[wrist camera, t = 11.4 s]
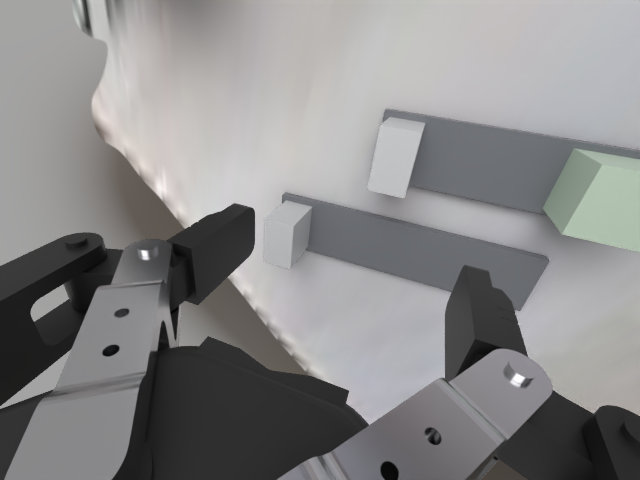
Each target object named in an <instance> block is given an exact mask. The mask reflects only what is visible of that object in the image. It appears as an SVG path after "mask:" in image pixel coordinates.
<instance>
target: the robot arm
mask: <svg viewBox="0 0 640 480" xmlns="http://www.w3.org/2000/svg"><path fill="white" fill-rule="evenodd" d="M254 244H255V211H254V209H253V208H251V207H247V206H244V205H240V204H236V203H235V204H232V205H231V206H229V207H227V208H226V209H224V210H223V211H221V212H217V213H214V214H210V215H207V216H206V217H204V218H203V219H201V220H199V222H196V223H194V224H193V225H191V227H188V228H186V229H184V230H183V231H181V232H180V233H178V234H176V235H175V236H173V237H171V238H170V239H168V240H167V241H164V240H160V239H146V240H141V241H138V242H135V243H133V244H131V245H129V246H128V247H126V248H125V249H124V250H118V249H106V248H105V245H104V241H103V238H102V237H101V236H100V235H98V234H95V233H76V234H71V235H67V236H64V237H61V238H59V239H57V240H55V241H53V242H51V243H48V244H46V245H44V246H42V247H40V248H38V249H36V250H34V251H32V252H29V253H28V254H25V255H23V256H21V257H19V258H17V259H15V260H13V261H10V262H8V263H6V264H4V265H2V266H0V406H1V405H2V404H3V403H5V402H6V401H7V400H8V399H10V398H11V397H12V396H13V395H15V394H16V393H17V392H18V391H20V390H21V389H22V388H23V387H25V386H26V385H27V384H28V383H30V382H31V381H32V380H33V379H35V378H36V377H37V376H38V375H39V374H41V373H42V372H43V371H44V370H46V369H47V368H48V367H49V366H51V365H52V364H53V363H54V362H56V361H57V360H58V359H59V358H60V357H62V356H63V355H64V354H66V353H67V352H68V351H69V350H71V352H70V354H69V356H68V359H67V361H66V363H65V366H64V368H63V371H62V373H61V375H60V378H59V380H58V383H57V385H56V387H55V389H54V390H51V391H48V392H45V393H43V394H40V395H37V396H35V397H32V398H29V399H26V400H24V401H21V402H18V403H16V404H13V405H10V406H8V407H5V408H2V409H0V480H480V479H481V478H482V477H483V476H484V475H485V474H486V473H487V472H488V471H489V470H490V469H491V468H492V466H493V465H494V464H495V463H496V462H497V461H498V460H499V459H500V460H501V461H503V462H504V463H506V464H507V465H508V466H510V467H511V468H513V469H514V470H515V471H517V472H518V473H520V474H521V475H522V476H524V477H525V478H527V479H528V480H640V416H638V415H636V414H634V413H633V412H631V411H628V410H626V409H623V408H620V407H617V406H610V405H606V406H602V407H600V408H599V409H598V410H597V411H596V412H595V413H594V414H593V413H591V412H589V411H587V410H586V409H584V408H582V407H580V406H579V405H577V404H575V403H573V402H571V401H570V400H568V399H566V398H564V397H563V396H561V395H559V394H558V393H556V392H555V391H554V390H553V387H552V383H551V380H550V378H549V377H548V375H547V374H546V372H545V371H544V370H543V369H542V368H541V367H540V366H539V365H538V364H537V363H536V362H534V361H533V360H532V359H530V358H529V357H528V355H527V352H526V348H525V345H524V341H523V338H522V335H521V331H520V328H519V325H517V324H518V321H517V318H516V315H515V311H514V307H513V304H512V301H511V300H510V299H509V298H508V296H507V295H506V294H505V293H504V292H503V290H501V289H498V288H494V287H492V282H491V278H490V273H489V271H487V270H483V269H480V268H476V267H472V266H468V265H464V266H463V268H462V269H461V272H460V274H459V276H458V279H457V281H456V284H455V286H454V288H453V291H452V293H451V295H450V298H449V300H448V303H447V307H446V312H445V379H444V378H439V379H437V380H435V381H434V382H432V383H431V384H429V385H428V386H426V387H425V388H423V389H422V390H421V391H419V392H418V393H416V394H415V395H413V396H412V397H410V398H409V399H407V400H406V401H404V402H403V403H401V404H400V405H399V406H397V407H396V408H394V409H393V410H391V411H390V412H388V413H387V414H385V415H384V416H382V417H381V418H379V419H378V420H377V421H375V422H374V423H372V424H371V425H369V424H368V423H367V422H366V421H365V420H364V419H363V418H362V416H361V415H359V414H358V413H357V412H356V411H355V410H354V409H353V408H351V407H350V406H349V405H347V404H346V401H347V397H348V393H349V391H348V390H346V389H343V388H341V387H338V386H335V385H333V384H330V383H328V382H325V381H322V380H320V379H317V378H315V377H312V376H306V375H299V374H292V373H284V372H277V371H272V370H269V369H267V368H265V367H264V366H263V365H262V364H260V363H259V362H257V361H256V360H255V359H253V358H252V357H251V356H249V355H248V354H247V353H245V352H244V351H242V350H241V349H240V348H237V347H234V346H232V345H229V344H227V343H224V342H222V341H219V340H216V339H214V338H211V337H209V336H208V337H207V338H206V339H205V341H204V342H203V343H202V344H201V345H200V346H181V347H179V336H180V322H181V305H180V304H181V303H183V301H188V302H190V303H193V304H196V305H199V303H201V302H202V301H203V300H204V299H205V298H206V297H207V296H208V295H209V294H210V293H211V292H212V291H213V290H214V289H215V288H216V287H217V286H219V285H220V284H221V283H222V282H223V281H224V280H225V279H226V278H227V277H228V276H229V275H230V274H231V273H232V272H233V271H234V270H235V269H236V268H237V267H239V266H240V265H241V264H242V263H243V262H244V261H245V260H246V259H247V258H248V257H249V256H250V255H251V253H252V251H253V248H254ZM62 284H64V286H65V289H66V292H67V294H68V297H69V300H67V301H66V302H64V303H63V304H61V305H59V306H58V307H57V308H55V309H53V310H52V311H50V312H49V313H47V314H46V315H44V316H43V317H41V318H40V319H38V320H37V321H35V322H33V320H32V318H31V315H30V311H31V308H32V306H33V304H34V303H35V302H36V301H37V300H38V299H39V298H41V297H43V296H44V295H46V294H48V293H49V292H51V291H52V290H54V289H56V288H57V287H59V286H61V285H62Z"/></svg>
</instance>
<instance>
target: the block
mask: <svg viewBox="0 0 640 480" xmlns="http://www.w3.org/2000/svg"><path fill="white" fill-rule="evenodd" d="M543 210H544V211H545V213H546V214H547V215H548V217H549V218H550V219H551V221H552V222H553V223H554V225H555V226H556V228H557V229H558V230H559V232H560V233H561V234H562V235H566V236H570V237H575V238H579V239H584V240H588V241H592V242H597V243H601V244H605V245H610V246H614V247H619V248H623V249H627V250H632V251H636V252H640V159H634V158H628V157H623V156H617V155H611V154H605V153H599V152H593V151H587V150H582V149H576V148H574V149H573V151H572V153H571V155H570V157H569V159H568V160H567V162H566V164H565V166H564V168H563V170H562V172H561V174H560V176H559V178H558V180H557V182H556V183H555V185H554V187H553V189H552V191H551V193H550V195H549V197H548V199H547V201H546V203H545V205H544V206H543Z"/></svg>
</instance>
